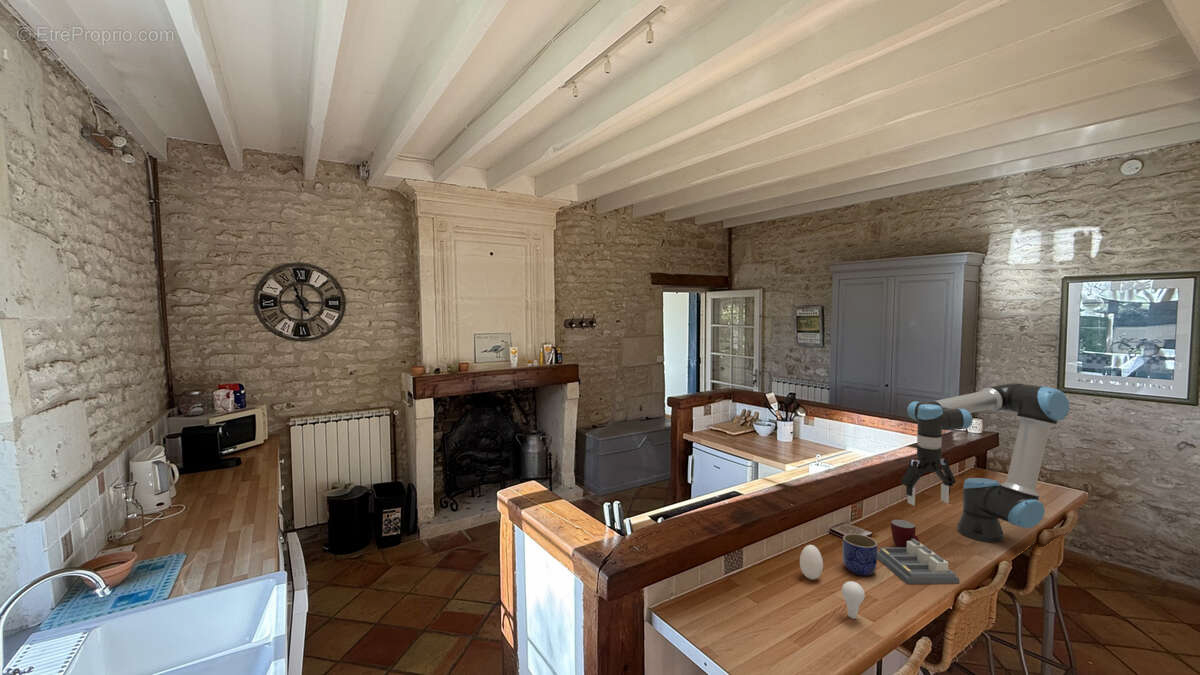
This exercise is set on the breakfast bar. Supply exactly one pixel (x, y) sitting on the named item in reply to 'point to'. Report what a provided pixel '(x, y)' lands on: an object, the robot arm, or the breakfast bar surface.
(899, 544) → the mug
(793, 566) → the breakfast bar surface
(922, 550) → the tab
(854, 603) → the lightbulb
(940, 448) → the robot arm
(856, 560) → the planter
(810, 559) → the egg
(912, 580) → the switch bank
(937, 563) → the white and grey block
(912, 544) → the tab
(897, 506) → the breakfast bar surface
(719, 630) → the breakfast bar surface
